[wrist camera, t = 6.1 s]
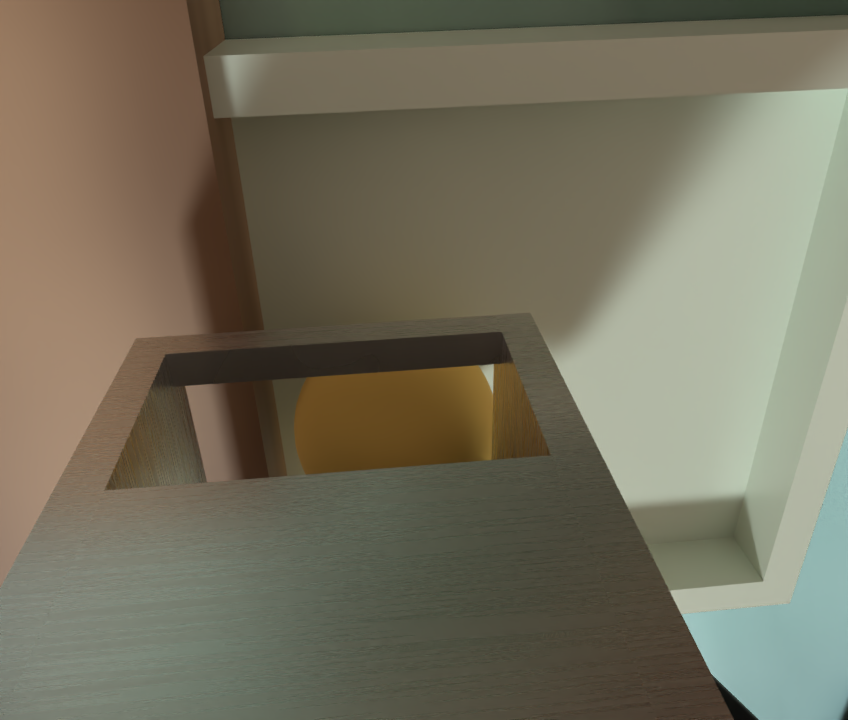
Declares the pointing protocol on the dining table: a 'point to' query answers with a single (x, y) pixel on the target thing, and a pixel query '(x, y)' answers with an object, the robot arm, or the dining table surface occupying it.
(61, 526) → the gray slotted box
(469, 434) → the ball
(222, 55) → the tray
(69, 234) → the brown flat board
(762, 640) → the dining table surface
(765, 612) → the dining table surface
